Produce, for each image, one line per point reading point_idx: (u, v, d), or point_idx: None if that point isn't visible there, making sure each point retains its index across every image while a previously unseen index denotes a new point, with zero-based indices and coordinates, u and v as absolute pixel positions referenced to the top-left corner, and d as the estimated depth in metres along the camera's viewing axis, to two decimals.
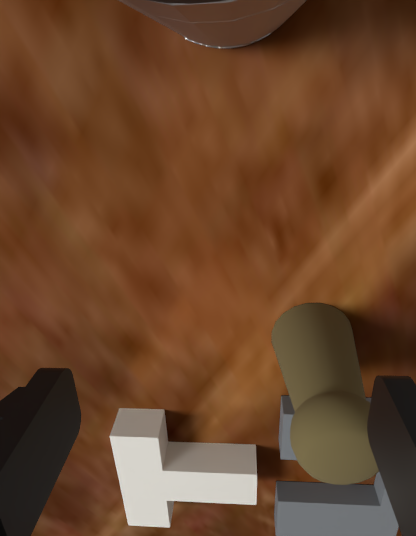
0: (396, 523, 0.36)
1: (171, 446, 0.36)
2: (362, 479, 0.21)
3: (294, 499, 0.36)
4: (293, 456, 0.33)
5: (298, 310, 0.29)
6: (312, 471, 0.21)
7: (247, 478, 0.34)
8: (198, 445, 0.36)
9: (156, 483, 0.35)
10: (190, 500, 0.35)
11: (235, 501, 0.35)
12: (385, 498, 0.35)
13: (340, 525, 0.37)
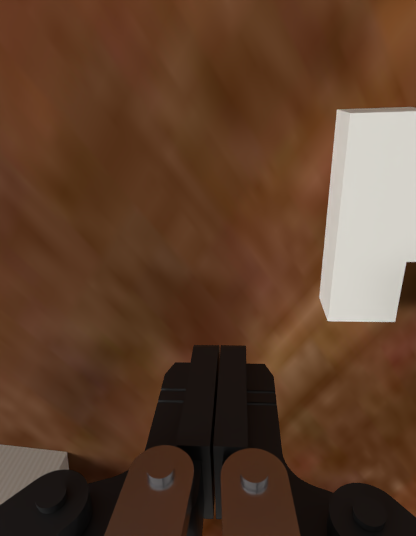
0: None
1: None
2: None
3: None
4: None
5: None
6: None
7: None
8: None
9: (400, 223, 0.22)
10: None
11: None
12: None
13: None
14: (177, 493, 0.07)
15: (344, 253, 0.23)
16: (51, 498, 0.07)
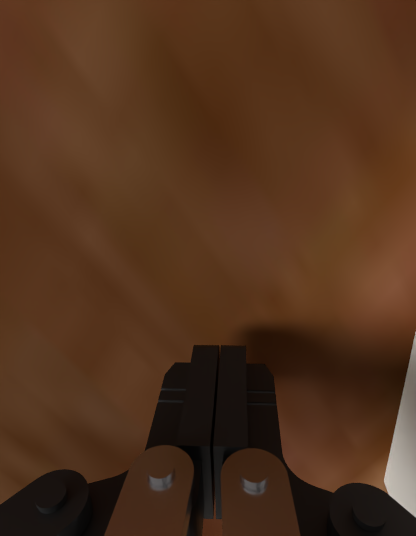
0: None
1: None
2: None
3: None
4: None
5: None
6: None
7: None
8: None
9: None
10: None
11: None
12: None
13: None
14: (177, 493, 0.07)
15: None
16: (51, 498, 0.07)
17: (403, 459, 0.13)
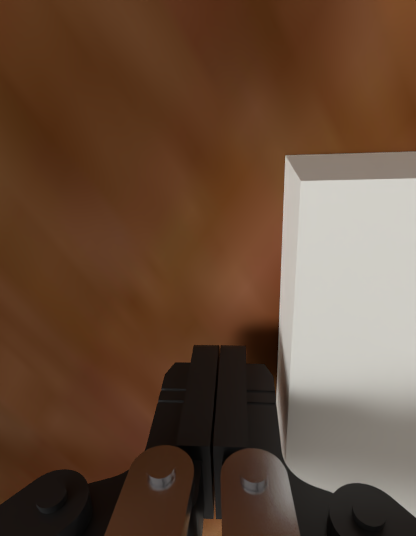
0: None
1: None
2: None
3: None
4: None
5: None
6: None
7: None
8: None
9: None
10: None
11: None
12: None
13: None
14: (177, 493, 0.07)
15: (305, 464, 0.10)
16: (51, 498, 0.07)
17: None
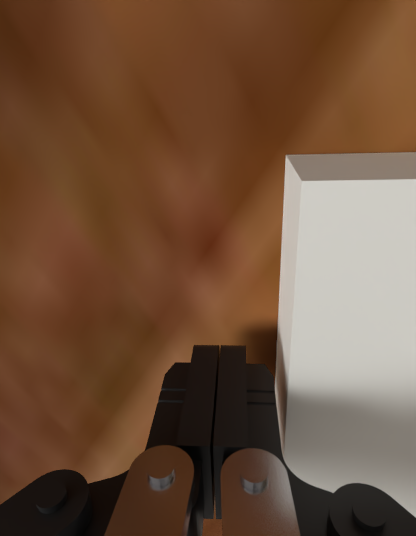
0: None
1: None
2: None
3: None
4: None
5: None
6: None
7: None
8: None
9: None
10: None
11: None
12: None
13: None
14: (177, 493, 0.07)
15: (303, 461, 0.11)
16: (51, 498, 0.07)
17: None
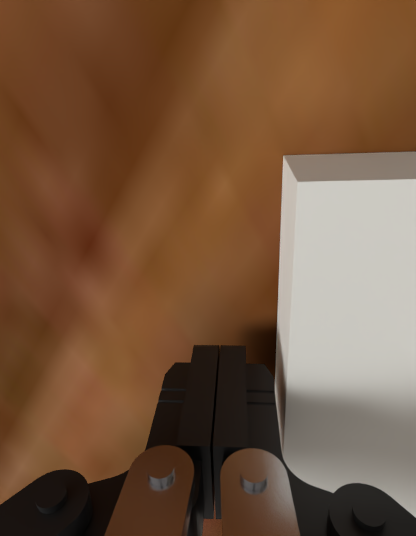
0: None
1: None
2: None
3: None
4: None
5: None
6: None
7: None
8: None
9: None
10: None
11: None
12: None
13: None
14: (177, 493, 0.07)
15: (302, 462, 0.11)
16: (51, 498, 0.07)
17: None
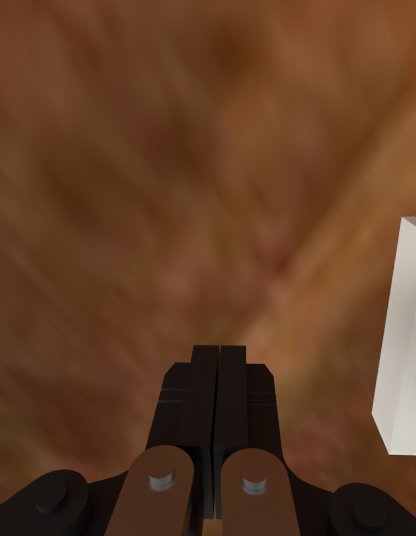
0: None
1: None
2: None
3: None
4: None
5: None
6: None
7: None
8: None
9: None
10: None
11: None
12: None
13: None
14: (177, 493, 0.07)
15: (413, 384, 0.19)
16: (51, 498, 0.07)
17: (381, 393, 0.22)
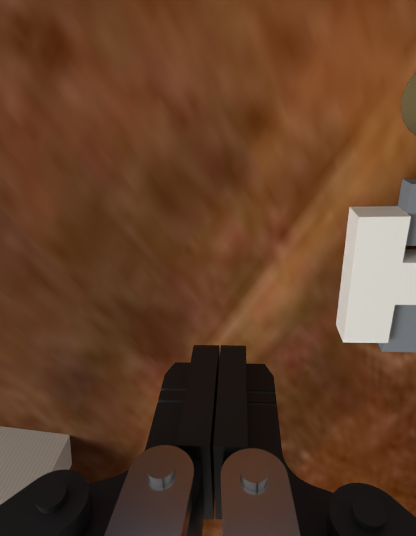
0: None
1: None
2: None
3: None
4: (414, 241, 0.33)
5: None
6: None
7: None
8: None
9: (390, 281, 0.34)
10: None
11: None
12: None
13: None
14: (177, 493, 0.07)
15: (354, 299, 0.35)
16: (51, 498, 0.07)
17: (340, 309, 0.38)
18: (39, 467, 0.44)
